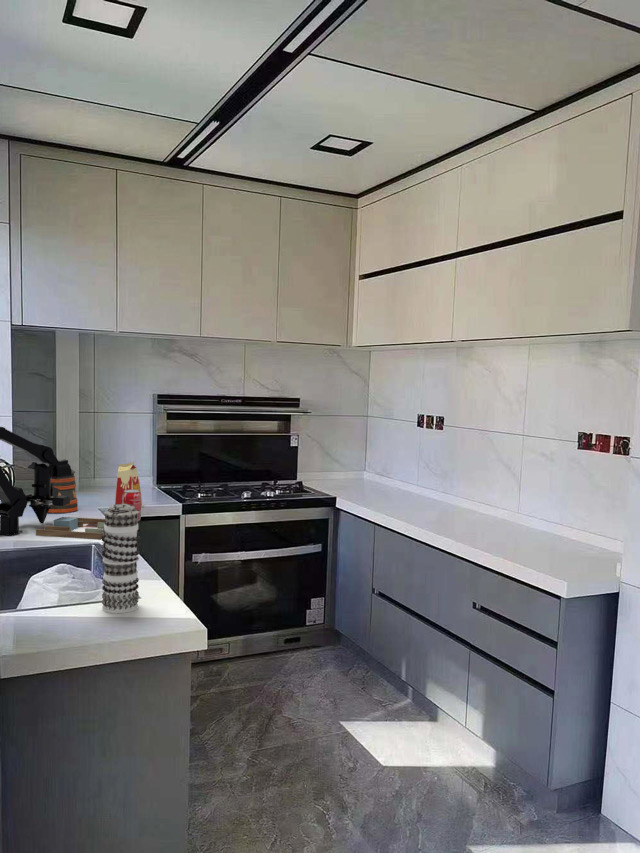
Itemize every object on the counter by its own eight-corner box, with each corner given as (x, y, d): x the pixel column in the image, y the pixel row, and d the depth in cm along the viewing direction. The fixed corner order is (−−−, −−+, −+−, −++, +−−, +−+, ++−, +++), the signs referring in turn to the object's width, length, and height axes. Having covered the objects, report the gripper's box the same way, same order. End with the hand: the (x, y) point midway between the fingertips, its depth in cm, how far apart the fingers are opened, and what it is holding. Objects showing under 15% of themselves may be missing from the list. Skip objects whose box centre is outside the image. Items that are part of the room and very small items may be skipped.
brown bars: (107, 539, 235) (107, 531, 234) (35, 535, 238) (35, 526, 237) (133, 526, 257) (133, 518, 257) (67, 522, 260) (67, 514, 260)
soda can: (121, 520, 267) (121, 489, 267) (139, 519, 270) (140, 489, 269) (122, 523, 261) (123, 492, 260) (141, 523, 263) (142, 491, 262)
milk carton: (142, 507, 295) (143, 460, 293) (131, 511, 286) (131, 463, 285) (123, 505, 297) (124, 459, 296) (111, 509, 288) (112, 461, 287)
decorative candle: (111, 599, 172) (112, 501, 171) (146, 603, 171) (147, 503, 169) (93, 611, 163) (94, 507, 162) (129, 615, 162) (130, 510, 160)
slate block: (68, 532, 245) (69, 521, 245) (53, 531, 246) (53, 520, 246) (77, 528, 251) (77, 517, 251) (62, 527, 252) (62, 516, 252)
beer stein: (44, 505, 292) (44, 458, 291) (80, 505, 295) (81, 458, 294) (37, 514, 274) (37, 464, 272) (76, 513, 277) (76, 464, 276)
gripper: (77, 478, 255) (76, 520, 256) (29, 476, 257) (29, 517, 258) (62, 483, 244) (62, 526, 245) (13, 480, 246) (13, 523, 247)
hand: (42, 523), depth 249 cm, fingers closed
